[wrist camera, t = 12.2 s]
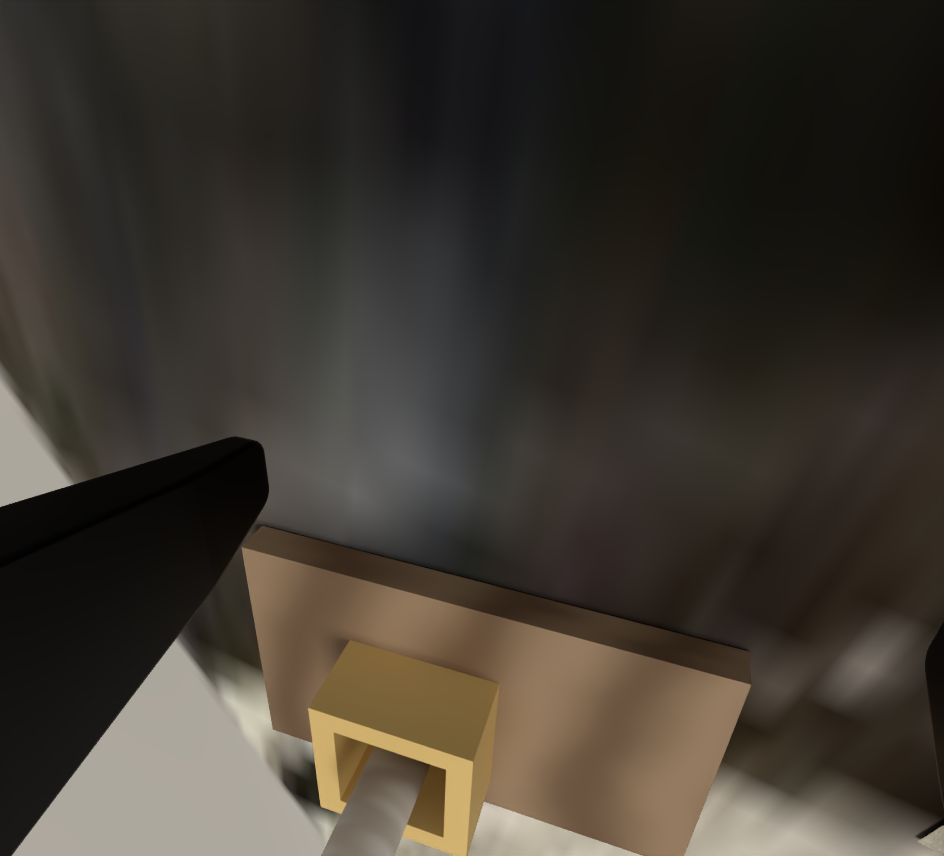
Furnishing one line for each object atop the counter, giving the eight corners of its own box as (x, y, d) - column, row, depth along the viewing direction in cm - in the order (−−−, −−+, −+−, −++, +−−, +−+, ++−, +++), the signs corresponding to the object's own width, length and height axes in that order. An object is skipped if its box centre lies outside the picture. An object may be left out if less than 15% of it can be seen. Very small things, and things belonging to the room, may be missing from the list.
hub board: (749, 651, 24) (763, 904, 17) (680, 834, 30) (670, 1075, 23) (262, 525, 29) (114, 681, 22) (288, 704, 35) (180, 871, 28)
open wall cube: (499, 683, 26) (473, 761, 24) (490, 780, 30) (466, 859, 27) (350, 639, 28) (308, 708, 25) (357, 736, 31) (320, 806, 29)
